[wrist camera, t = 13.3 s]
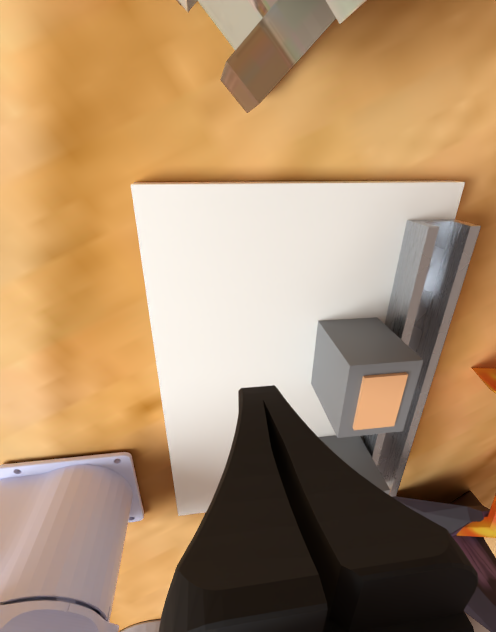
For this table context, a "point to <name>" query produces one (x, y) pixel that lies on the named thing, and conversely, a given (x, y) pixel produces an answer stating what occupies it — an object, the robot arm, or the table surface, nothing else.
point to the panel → (260, 295)
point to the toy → (268, 38)
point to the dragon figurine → (470, 534)
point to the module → (363, 376)
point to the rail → (422, 320)
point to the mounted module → (357, 458)
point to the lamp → (144, 627)
